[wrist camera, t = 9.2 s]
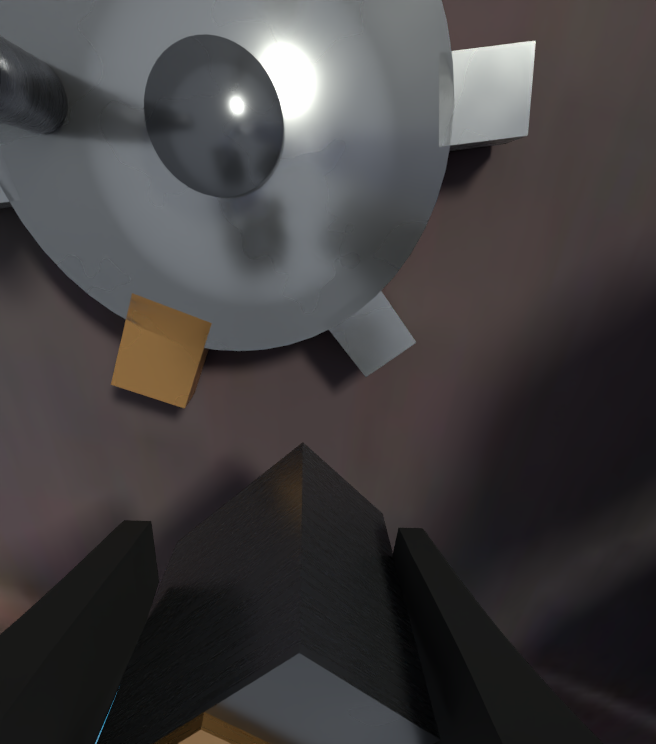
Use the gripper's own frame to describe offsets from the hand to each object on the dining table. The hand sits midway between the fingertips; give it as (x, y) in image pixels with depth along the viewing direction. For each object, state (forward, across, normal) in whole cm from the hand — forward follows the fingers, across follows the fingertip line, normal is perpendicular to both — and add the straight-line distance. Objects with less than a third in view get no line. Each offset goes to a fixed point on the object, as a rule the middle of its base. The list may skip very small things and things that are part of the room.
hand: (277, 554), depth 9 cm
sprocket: (+6, +2, -10) cm, 11 cm away
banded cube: (+1, 0, +1) cm, 2 cm away
